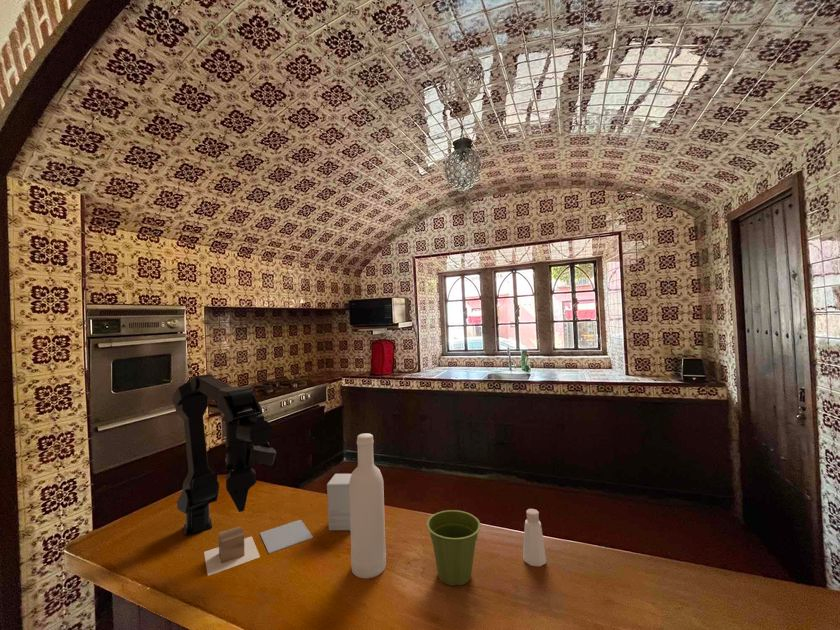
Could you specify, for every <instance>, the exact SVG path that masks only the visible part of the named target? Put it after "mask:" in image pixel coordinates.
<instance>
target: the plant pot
mask: <svg viewBox="0 0 840 630" xmlns="http://www.w3.org/2000/svg"><path fill="white" fill-rule="evenodd" d="M481 524H482V523H481V522H480V520H479V518H478V517H476V516H474V515H473V514H472V513H469V512H466V511H463V510H458V509H457V510H456V509H454V510H453V509H448V510H441V511H439V512H436V513H433V514H432V515H431V516H429V517H428V519H427V521H426V528H427V530H428V531H429V534H430V539H431V541H432V547H433V552H434V558H435V564H436V565H435V566H436V571H437V576H438V578H439V579H440V581H441V582H442V583H444V584H445V585H448V586H456V585H457V586H463V585H465V584H467V583H468V582H469V581H470V580H471V577H472V574H473V573H472V572H473V565H474V563H473V562H474V557H475V549H476V548H475V547H476V542H477V540H478V533H479V532H480V530H481V527H482V526H481Z"/></svg>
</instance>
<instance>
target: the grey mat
mask: <svg viewBox="0 0 840 630" xmlns="http://www.w3.org/2000/svg"><path fill="white" fill-rule="evenodd" d="M259 535H260V538H261V539H262V542H263V544H264V546H265V548H266V550H267V553H268V554H269V555H270V554H272V553H275V552H278V551H281V550H284V549H287V548H289V547H292V546H295V545H297V544H300V543H302V542H306V541H308V540H311V539H313V538H314V536H313V535H312V534H311V531H309V529H308V528H307V526H306V525H305V523H304V522H303V520H302V519H298V520H295V521H291V522H289V523H285V524H283V525H280V526H276V527H273V528H270V529H267V530H265V531H261V532H259Z"/></svg>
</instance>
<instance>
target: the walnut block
mask: <svg viewBox="0 0 840 630" xmlns="http://www.w3.org/2000/svg"><path fill="white" fill-rule="evenodd" d="M244 539H245V533H244V530H243V528H242V526H241V525H239V526H236V527H233V528H228V529H227V530H223V531H219V532H218V547H219V555H220V560H221V564H222V563H224V562H227V561H230V560H233V559H236V558H239V557H242V556H244V555H245V554H244Z"/></svg>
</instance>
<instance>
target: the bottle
mask: <svg viewBox="0 0 840 630" xmlns="http://www.w3.org/2000/svg"><path fill="white" fill-rule="evenodd" d="M356 438H357V439H356V445H357V467H356V468H355V469H354V470H353V471H352V472H351V474H352V475H351V478H350V482H349V489H350V526H351V530H350V563H351V572H352V574H354V576H356V577H357V578H359V579H372V578H374V577H375V578H376V577H377V576H379V575H381V574H382V573H383V572H384V571H385V569H386V566H387V551H386V525H385V519H386V518H385V497H384V496H385V495H384V494H385V493H384V490H385V488H384V487H385V485H384V477H383V475H382V472H381V470H380V469H379V467H377V466H376V464H375V463H374V462H375V461H374V459H375V458H374V443H375V440H374V435H373V434H371V433H370V432H369V433H365V432H364V433H360V434H358V435H357V437H356Z"/></svg>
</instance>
